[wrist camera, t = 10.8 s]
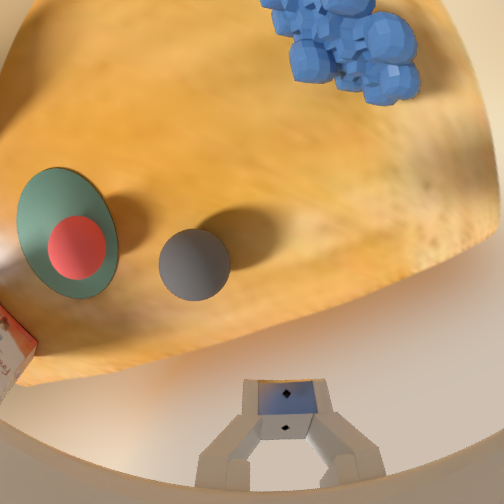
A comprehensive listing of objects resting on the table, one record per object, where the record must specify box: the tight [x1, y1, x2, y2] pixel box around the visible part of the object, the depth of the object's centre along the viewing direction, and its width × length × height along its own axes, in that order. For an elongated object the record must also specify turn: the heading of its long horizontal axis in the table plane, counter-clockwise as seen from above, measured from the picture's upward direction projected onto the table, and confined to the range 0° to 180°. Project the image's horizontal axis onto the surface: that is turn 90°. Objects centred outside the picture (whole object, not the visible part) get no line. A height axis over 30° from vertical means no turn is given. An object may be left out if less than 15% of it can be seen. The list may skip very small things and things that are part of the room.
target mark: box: [17, 168, 118, 299], centre depth 24 cm, size 14×14×1 cm
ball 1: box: [48, 216, 106, 280], centre depth 21 cm, size 6×6×6 cm
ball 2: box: [159, 229, 230, 301], centre depth 21 cm, size 6×6×6 cm
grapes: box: [260, 0, 421, 106], centre depth 12 cm, size 12×7×12 cm, turn 52°
